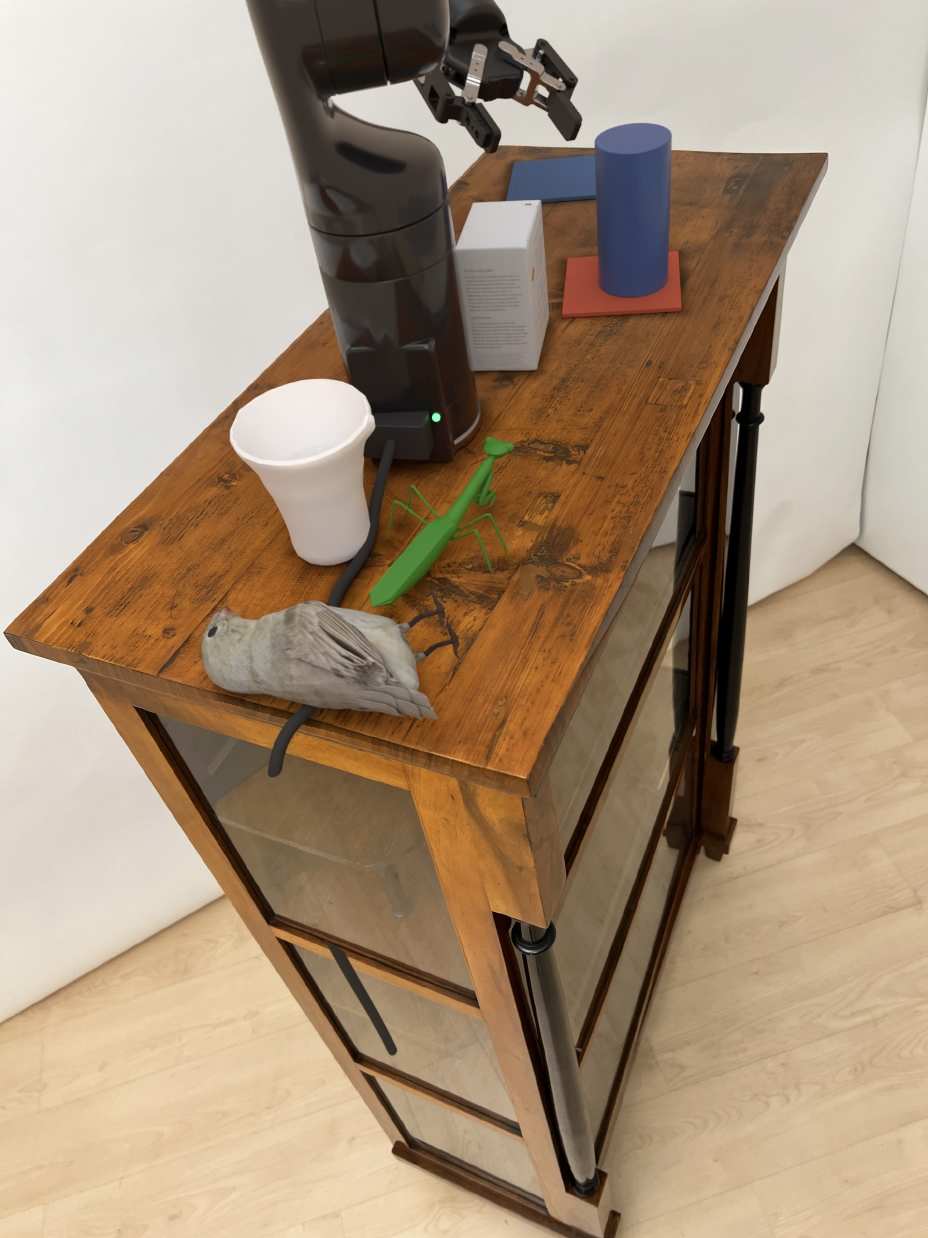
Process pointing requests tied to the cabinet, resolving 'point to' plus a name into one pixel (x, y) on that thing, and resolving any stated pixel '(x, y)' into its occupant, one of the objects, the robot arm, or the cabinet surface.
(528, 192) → the blue mat
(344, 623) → the decorative bird
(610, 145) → the blue can
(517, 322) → the small box
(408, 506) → the praying mantis
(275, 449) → the cup
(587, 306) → the terracotta mat
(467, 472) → the cabinet surface
